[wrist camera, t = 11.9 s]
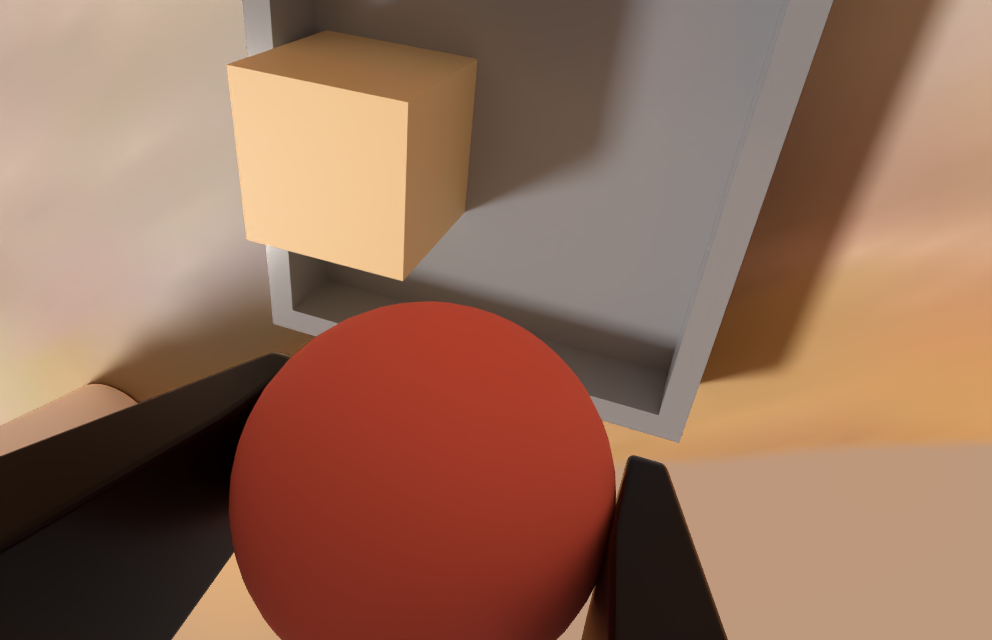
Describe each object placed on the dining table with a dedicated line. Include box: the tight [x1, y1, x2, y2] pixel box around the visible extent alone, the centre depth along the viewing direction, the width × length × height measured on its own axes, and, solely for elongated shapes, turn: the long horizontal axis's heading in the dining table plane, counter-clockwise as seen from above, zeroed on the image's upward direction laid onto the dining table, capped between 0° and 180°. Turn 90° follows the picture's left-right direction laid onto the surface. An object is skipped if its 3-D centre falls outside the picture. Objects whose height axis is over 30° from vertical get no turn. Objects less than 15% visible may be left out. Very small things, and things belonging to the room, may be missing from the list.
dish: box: [242, 0, 833, 443], centre depth 17 cm, size 12×12×2 cm
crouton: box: [227, 30, 478, 281], centre depth 16 cm, size 4×4×4 cm
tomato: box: [229, 301, 616, 640], centre depth 7 cm, size 4×4×4 cm
